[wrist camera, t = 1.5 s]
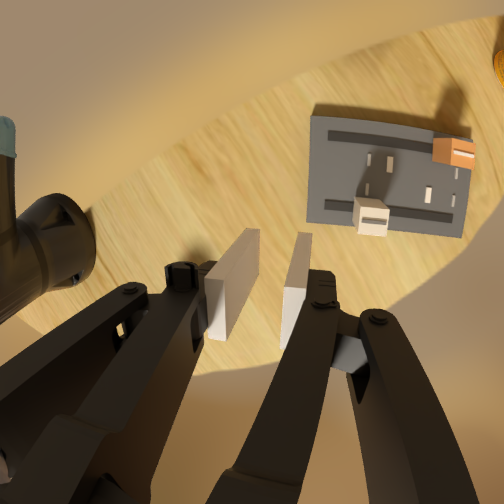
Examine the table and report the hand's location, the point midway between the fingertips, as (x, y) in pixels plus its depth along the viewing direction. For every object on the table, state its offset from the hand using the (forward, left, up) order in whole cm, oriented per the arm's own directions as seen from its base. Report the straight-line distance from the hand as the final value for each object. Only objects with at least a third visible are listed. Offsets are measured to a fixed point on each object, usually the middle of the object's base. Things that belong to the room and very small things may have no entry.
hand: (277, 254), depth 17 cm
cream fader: (+7, 0, -14) cm, 16 cm away
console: (+10, +3, -16) cm, 20 cm away
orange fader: (+15, +7, -14) cm, 22 cm away
